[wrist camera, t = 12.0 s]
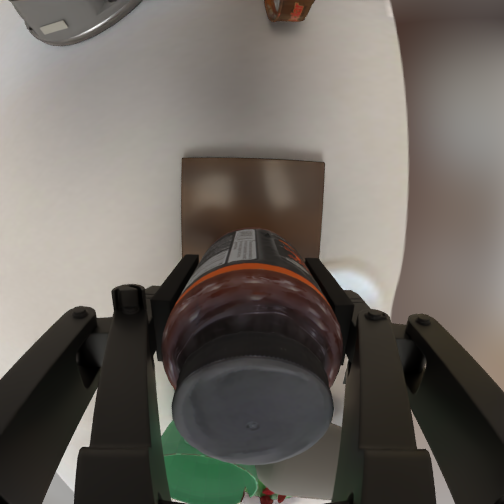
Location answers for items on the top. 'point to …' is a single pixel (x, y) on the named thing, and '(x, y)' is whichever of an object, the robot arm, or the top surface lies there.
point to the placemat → (251, 201)
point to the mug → (203, 474)
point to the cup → (306, 470)
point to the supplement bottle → (252, 352)
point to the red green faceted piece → (267, 494)
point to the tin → (287, 9)
